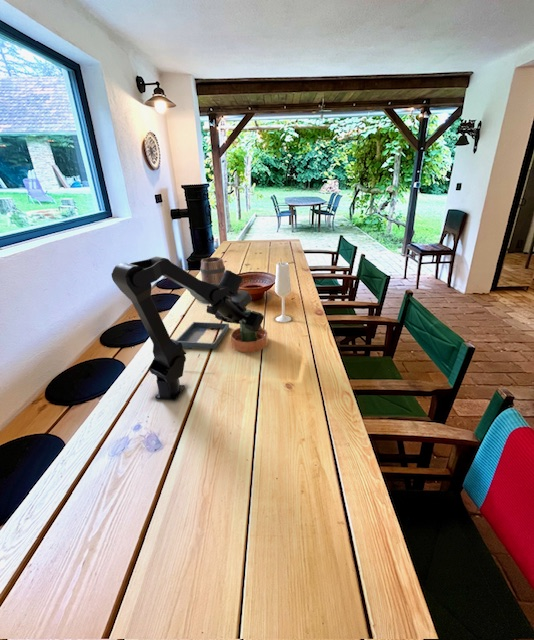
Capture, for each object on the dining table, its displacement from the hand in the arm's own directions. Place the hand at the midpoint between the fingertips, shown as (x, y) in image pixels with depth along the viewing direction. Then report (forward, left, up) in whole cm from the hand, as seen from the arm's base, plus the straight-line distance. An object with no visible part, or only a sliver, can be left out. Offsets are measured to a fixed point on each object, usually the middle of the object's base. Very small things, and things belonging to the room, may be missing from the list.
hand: (250, 325), depth 116 cm
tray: (+2, +20, -7) cm, 21 cm away
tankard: (+48, +31, -7) cm, 57 cm away
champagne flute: (+23, -8, -7) cm, 25 cm away
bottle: (-1, +1, -7) cm, 7 cm away
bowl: (-1, +1, -7) cm, 7 cm away
